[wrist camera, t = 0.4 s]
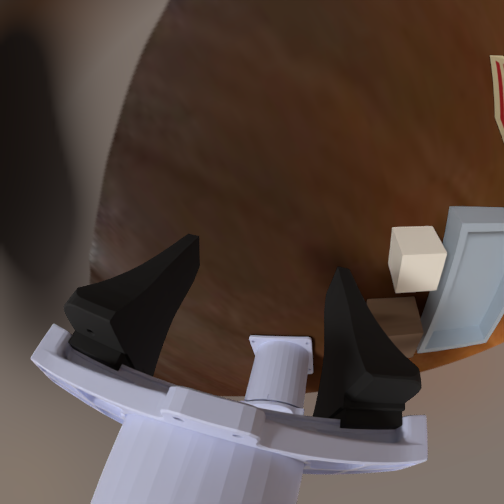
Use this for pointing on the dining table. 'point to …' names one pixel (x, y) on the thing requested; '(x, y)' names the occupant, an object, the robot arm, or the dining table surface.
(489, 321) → the tote
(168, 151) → the dining table surface
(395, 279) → the cream box
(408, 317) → the walnut block
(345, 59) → the dining table surface
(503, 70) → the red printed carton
